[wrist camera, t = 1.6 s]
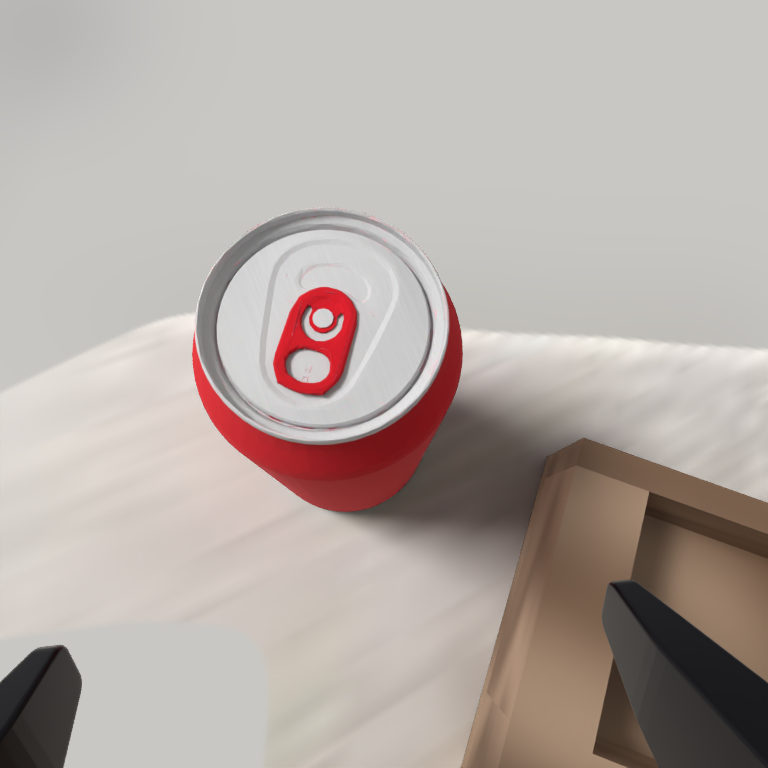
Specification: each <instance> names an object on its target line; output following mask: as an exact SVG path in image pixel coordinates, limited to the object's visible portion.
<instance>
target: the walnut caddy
mask: <svg viewBox="0 0 768 768" xmlns="http://www.w3.org/2000/svg"><path fill="white" fill-rule="evenodd" d="M627 579H630V580H634V581H636V582H638V583H639V584H640V585H642V586H643V587H644V588H646V589H647V590H648V591H650V592H651V593H652V594H653V595H655V596H656V597H657V598H659V599H660V600H661V601H663V602H664V603H665V604H667V605H668V606H669V607H670V608H672V609H673V610H674V611H676V612H677V613H678V614H680V615H681V616H682V617H683V618H685V619H686V620H687V621H689V622H690V623H691V624H693V625H694V626H695V627H696V628H698V629H699V630H700V631H702V632H703V633H704V634H706V635H707V636H708V637H710V638H711V639H712V640H713V641H715V642H716V643H717V644H719V645H720V646H721V647H723V648H724V649H725V650H726V651H728V652H729V653H730V654H732V655H733V656H734V657H736V658H737V659H738V660H739V661H741V662H742V663H743V664H745V665H746V666H747V667H749V668H750V669H751V670H753V671H754V672H755V673H756V674H758V675H759V676H760V677H762V678H763V679H764V680H766V681H767V682H768V503H766V502H764V501H761V500H758V499H755V498H752V497H750V496H747V495H744V494H741V493H738V492H735V491H733V490H730V489H727V488H724V487H721V486H718V485H716V484H713V483H710V482H707V481H704V480H701V479H699V478H696V477H693V476H690V475H687V474H684V473H682V472H679V471H676V470H673V469H670V468H668V467H665V466H662V465H659V464H656V463H653V462H651V461H648V460H645V459H642V458H639V457H636V456H634V455H631V454H628V453H625V452H622V451H619V450H617V449H614V448H611V447H608V446H605V445H603V444H600V443H597V442H594V441H591V440H588V439H586V438H582V439H581V440H579V441H577V442H575V443H573V444H571V445H569V446H567V447H565V448H563V449H562V450H560V451H558V452H556V453H554V454H552V455H550V456H548V457H547V460H546V463H545V467H544V471H543V474H542V478H541V481H540V485H539V489H538V492H537V496H536V499H535V503H534V507H533V510H532V514H531V517H530V521H529V525H528V528H527V532H526V535H525V539H524V543H523V546H522V550H521V553H520V557H519V561H518V564H517V568H516V572H515V575H514V579H513V582H512V586H511V590H510V593H509V597H508V600H507V604H506V608H505V611H504V615H503V618H502V622H501V626H500V629H499V633H498V636H497V640H496V644H495V647H494V651H493V654H492V658H491V662H490V665H489V669H488V673H487V676H486V680H485V683H484V687H483V691H482V694H481V698H480V701H479V705H478V709H477V712H476V716H475V719H474V723H473V727H472V730H471V734H470V737H469V741H468V745H467V748H466V752H465V755H464V759H463V763H462V766H461V768H659V767H658V765H657V763H656V761H655V759H654V756H653V754H652V752H651V750H650V748H649V746H648V744H647V742H646V740H645V737H644V735H643V733H642V731H641V728H640V726H639V724H638V722H637V719H636V717H635V714H634V712H633V709H632V706H631V704H630V701H629V698H628V695H627V692H626V690H625V687H624V684H623V681H622V678H621V676H620V673H619V670H618V667H617V664H616V662H615V659H614V656H613V653H612V650H611V648H610V645H609V642H608V639H607V636H606V634H605V631H604V628H603V624H602V609H603V603H604V598H605V593H606V588H607V585H608V584H609V583H610V582H612V581H619V580H627Z"/></svg>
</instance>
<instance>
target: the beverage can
mask: <svg viewBox="0 0 768 768" xmlns="http://www.w3.org/2000/svg"><path fill="white" fill-rule="evenodd" d="M462 356H463V353H462V337H461V330H460V325H459V321H458V317H457V314H456V310H455V307H454V305H453V303H452V301H451V298H450V296H449V294H448V292H447V290H446V289H445V287H444V286H443V284H442V282H441V280H440V278H439V275H438V273H437V271H436V270H435V268H434V266H433V265H432V263H431V261H430V260H429V259H428V257H427V256H426V255H425V253H424V252H423V251H422V250H421V249H420V248H419V247H418V246H417V245H416V244H415V243H414V242H413V240H411V238H409V237H408V236H407V235H405V234H404V233H402V232H401V231H400V230H398V229H397V228H395V227H394V226H392V225H390V224H388V223H386V222H384V221H383V220H381V219H378V218H376V217H373V216H370V215H368V214H366V213H360V212H356V211H352V210H346V209H340V208H309V209H303V210H296V211H292V212H289V213H286V214H282V215H279V216H276V217H274V218H272V219H269V220H267V221H265V222H263V223H260V224H259V225H257V226H255V227H254V228H252V229H250V230H249V231H247V232H246V233H244V234H243V235H242V236H241V237H240V238H238V239H237V240H236V241H235V242H234V243H232V244H231V245H230V246H229V247H228V249H227V250H226V251H225V252H224V253H223V254H222V255H221V256H220V258H219V259H218V261H217V262H216V263H215V265H214V266H213V268H212V269H211V271H210V273H209V275H208V277H207V279H206V281H205V283H204V285H203V287H202V290H201V293H200V297H199V300H198V304H197V309H196V316H195V333H194V339H193V353H192V357H193V369H194V376H195V381H196V385H197V388H198V392H199V395H200V398H201V400H202V403H203V405H204V408H205V409H206V411H207V413H208V415H209V417H210V419H211V420H212V422H213V423H214V425H215V427H216V428H217V429H218V430H219V432H220V433H221V434H222V435H223V436H224V437H225V439H226V440H227V441H228V442H229V443H230V444H231V445H232V446H233V447H235V448H236V449H237V450H238V451H239V452H240V453H242V454H243V455H244V456H246V457H247V458H248V459H250V460H251V461H252V462H254V463H255V464H256V465H258V466H259V467H260V468H262V469H263V470H264V471H266V472H267V473H268V474H270V475H271V476H272V477H274V478H275V479H276V480H278V481H279V482H280V483H282V484H283V485H284V486H286V487H287V488H288V489H289V490H291V491H292V492H293V493H295V494H296V495H297V496H299V497H300V498H302V499H303V500H305V501H307V502H309V503H310V504H312V505H315V506H317V507H320V508H323V509H327V510H332V511H341V512H350V511H359V510H364V509H368V508H371V507H374V506H376V505H378V504H381V503H382V502H384V501H386V500H388V499H389V498H391V497H392V496H394V495H395V494H396V493H397V492H399V491H400V490H401V489H402V488H403V487H404V486H405V485H406V483H407V482H408V481H409V480H410V478H411V477H412V475H413V474H414V472H415V470H416V468H417V467H418V465H419V463H420V461H421V459H422V457H423V455H424V453H425V452H426V450H427V448H428V446H429V444H430V442H431V440H432V439H433V437H434V435H435V433H436V431H437V429H438V427H439V425H440V424H441V422H442V420H443V418H444V416H445V414H446V412H447V410H448V409H449V407H450V405H451V403H452V400H453V398H454V396H455V393H456V390H457V387H458V383H459V379H460V375H461V368H462Z"/></svg>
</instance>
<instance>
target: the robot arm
mask: <svg viewBox="0 0 768 768" xmlns="http://www.w3.org/2000/svg"><path fill="white" fill-rule="evenodd" d="M602 624H603V628H604V631H605V634H606V636H607V639H608V642H609V645H610V648H611V650H612V653H613V656H614V659H615V662H616V664H617V667H618V670H619V673H620V676H621V678H622V681H623V684H624V687H625V690H626V692H627V695H628V698H629V701H630V704H631V706H632V709H633V712H634V714H635V717H636V719H637V722H638V724H639V726H640V728H641V731H642V733H643V735H644V737H645V740H646V742H647V744H648V746H649V748H650V750H651V752H652V754H653V756H654V759H655V761H656V763H657V765H658V767H659V768H768V682H767V681H766V680H764V679H763V678H762V677H760V676H759V675H758V674H756V673H755V672H754V671H753V670H751V669H750V668H749V667H747V666H746V665H745V664H743V663H742V662H741V661H739V660H738V659H737V658H736V657H734V656H733V655H732V654H730V653H729V652H728V651H726V650H725V649H724V648H723V647H721V646H720V645H719V644H717V643H716V642H715V641H713V640H712V639H711V638H710V637H708V636H707V635H706V634H704V633H703V632H702V631H700V630H699V629H698V628H696V627H695V626H694V625H693V624H691V623H690V622H689V621H687V620H686V619H685V618H683V617H682V616H681V615H680V614H678V613H677V612H676V611H674V610H673V609H672V608H670V607H669V606H668V605H667V604H665V603H664V602H663V601H661V600H660V599H659V598H657V597H656V596H655V595H653V594H652V593H651V592H650V591H648V590H647V589H646V588H644V587H643V586H642V585H640V584H639V583H638V582H636V581H634V580H630V579H627V580H619V581H612V582H610V583H609V584H608V585H607V588H606V593H605V598H604V603H603V609H602ZM81 687H82V679H81V675H80V673H79V671H78V669H77V667H76V665H75V663H74V661H73V659H72V657H71V655H70V653H69V651H68V649H67V648H66V647H65V646H63V645H54V646H45V647H40V648H37V649H35V650H34V651H32V652H31V653H30V654H29V655H28V656H27V657H26V658H25V659H24V660H23V661H21V662H20V663H19V664H18V665H17V667H16V668H14V669H13V670H12V671H11V672H10V673H9V674H8V675H7V676H6V677H5V678H4V679H3V680H2V681H1V682H0V768H63V767H64V763H65V758H66V754H67V750H68V745H69V741H70V737H71V732H72V728H73V723H74V719H75V715H76V711H77V706H78V702H79V698H80V694H81Z"/></svg>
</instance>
